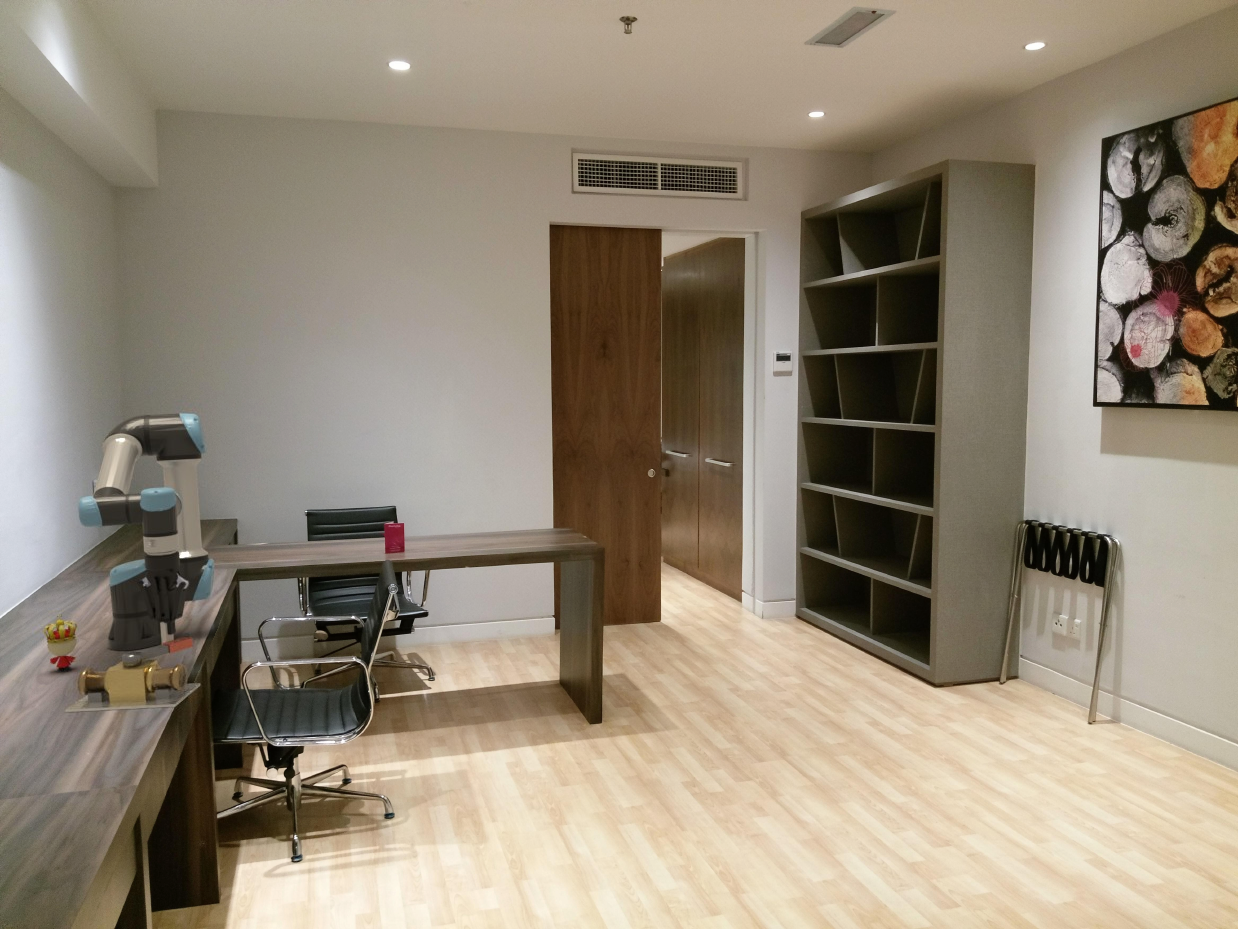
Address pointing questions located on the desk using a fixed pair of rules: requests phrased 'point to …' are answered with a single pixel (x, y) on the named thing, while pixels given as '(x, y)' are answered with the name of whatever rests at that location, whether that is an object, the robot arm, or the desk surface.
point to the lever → (156, 651)
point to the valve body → (133, 687)
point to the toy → (61, 643)
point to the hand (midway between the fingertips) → (168, 647)
